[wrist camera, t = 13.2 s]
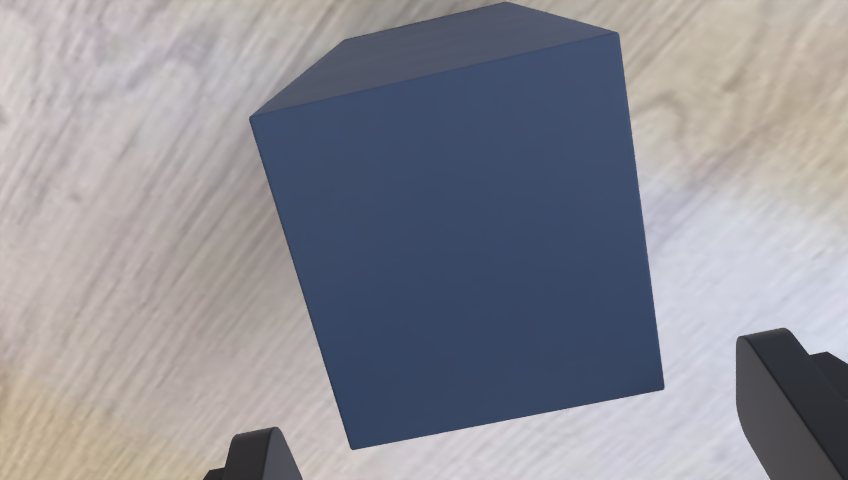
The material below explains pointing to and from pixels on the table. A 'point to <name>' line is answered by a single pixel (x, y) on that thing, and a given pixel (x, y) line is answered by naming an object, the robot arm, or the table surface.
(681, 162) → the table surface
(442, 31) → the rectangular box
